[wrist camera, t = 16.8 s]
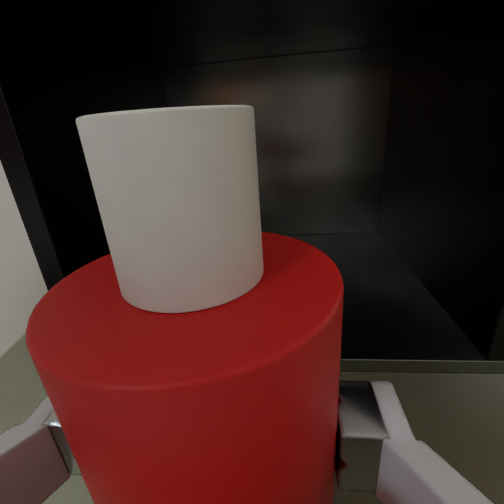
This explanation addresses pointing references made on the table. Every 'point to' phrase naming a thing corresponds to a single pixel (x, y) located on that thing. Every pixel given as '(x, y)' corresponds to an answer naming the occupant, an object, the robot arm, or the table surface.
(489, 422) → the table surface
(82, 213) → the toaster oven
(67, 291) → the sauce bottle
